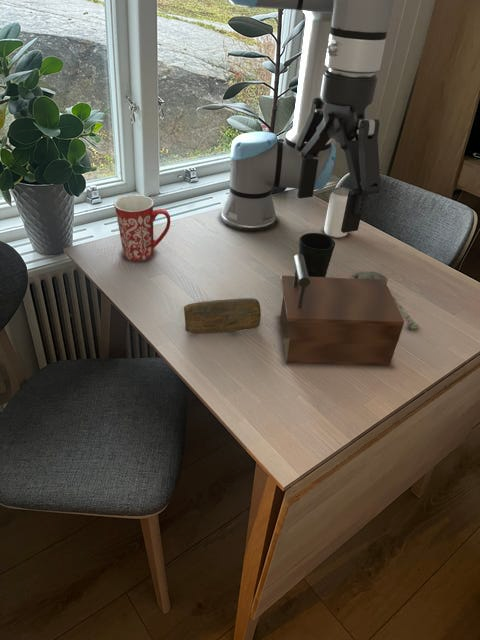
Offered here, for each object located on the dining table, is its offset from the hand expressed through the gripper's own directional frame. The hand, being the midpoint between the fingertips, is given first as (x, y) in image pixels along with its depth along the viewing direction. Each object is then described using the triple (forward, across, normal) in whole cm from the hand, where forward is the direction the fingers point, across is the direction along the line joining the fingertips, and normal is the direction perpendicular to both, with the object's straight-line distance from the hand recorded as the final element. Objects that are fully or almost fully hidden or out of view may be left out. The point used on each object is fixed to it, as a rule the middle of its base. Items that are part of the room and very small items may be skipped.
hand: (325, 213), depth 79 cm
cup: (+27, -15, +10) cm, 32 cm away
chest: (+26, +4, +4) cm, 27 cm away
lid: (+17, +3, +4) cm, 17 cm away
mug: (+27, -41, -21) cm, 53 cm away
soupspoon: (+27, -4, +24) cm, 36 cm away
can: (+27, -36, +31) cm, 55 cm away
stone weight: (+27, -8, -15) cm, 31 cm away
